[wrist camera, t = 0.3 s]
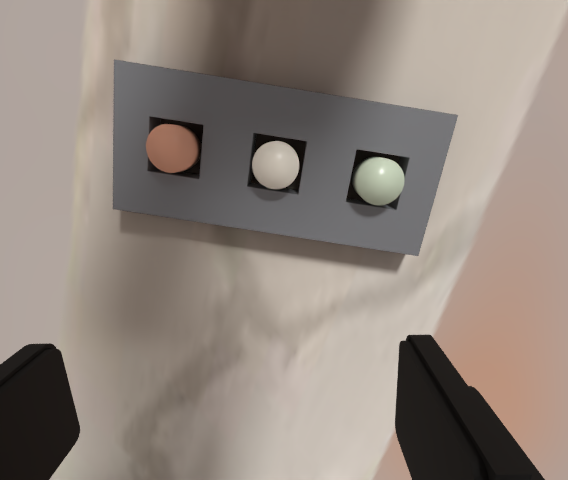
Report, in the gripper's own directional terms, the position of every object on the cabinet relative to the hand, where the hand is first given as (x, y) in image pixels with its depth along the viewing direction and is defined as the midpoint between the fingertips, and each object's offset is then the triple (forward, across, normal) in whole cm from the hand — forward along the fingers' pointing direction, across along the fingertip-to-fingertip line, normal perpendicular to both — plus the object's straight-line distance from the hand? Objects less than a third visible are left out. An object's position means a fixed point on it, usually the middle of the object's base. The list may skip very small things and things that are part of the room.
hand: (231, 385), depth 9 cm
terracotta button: (+28, +10, -6) cm, 30 cm away
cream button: (+28, 0, -4) cm, 28 cm away
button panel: (+29, 0, -4) cm, 30 cm away
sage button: (+28, -10, -3) cm, 29 cm away
